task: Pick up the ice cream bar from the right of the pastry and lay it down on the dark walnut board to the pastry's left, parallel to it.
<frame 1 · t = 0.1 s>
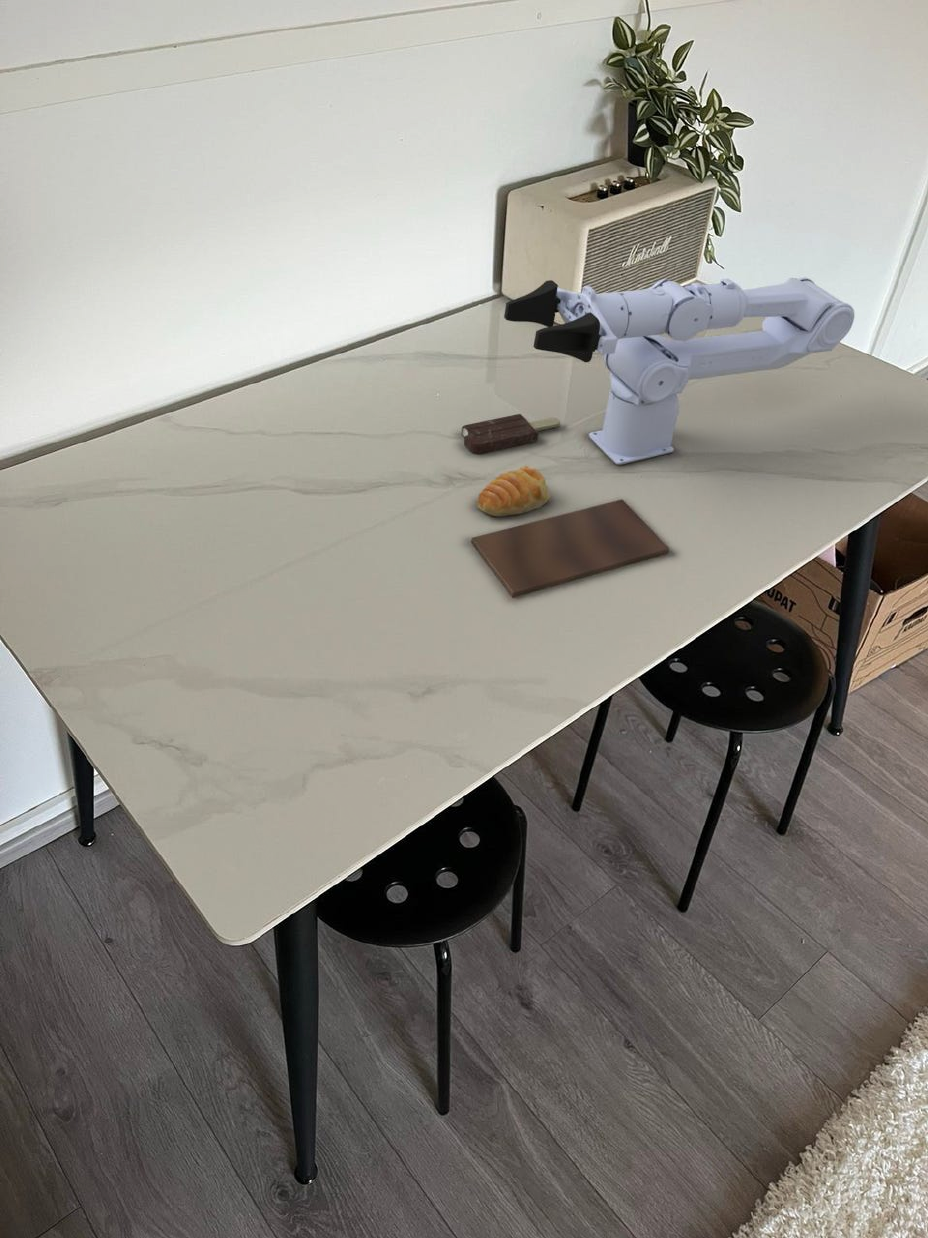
hand: (520, 325, 124), 22 cm above the table, tool horizontal, fingers open, 7 cm apart
pastry: (514, 503, 135), on the table
walnut board: (569, 548, 128), on the table
ice cream bar: (511, 437, 146), on the table
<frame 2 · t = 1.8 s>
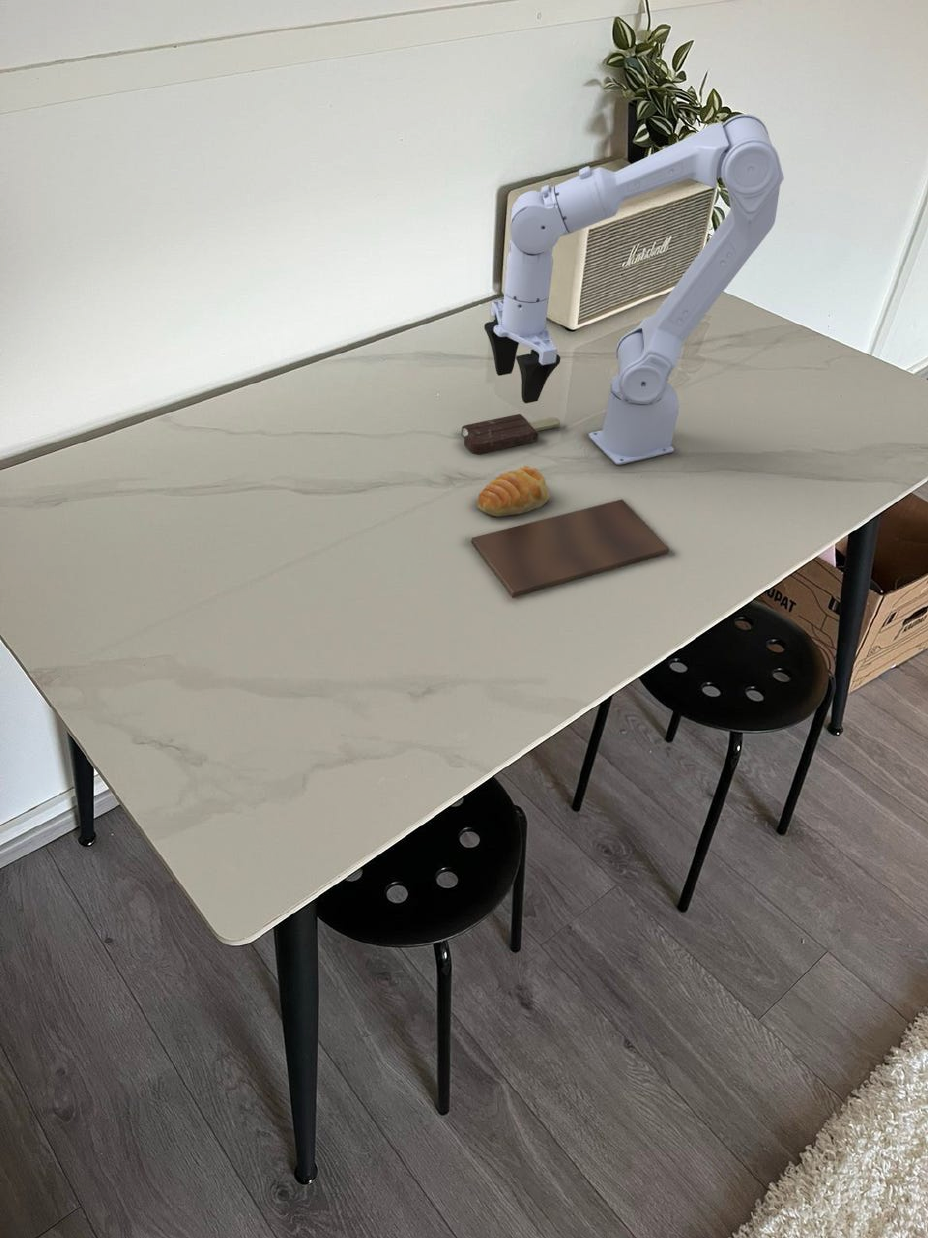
hand: (516, 387, 141), 8 cm above the table, tool pointing down, fingers open, 7 cm apart
nothing on the table moved.
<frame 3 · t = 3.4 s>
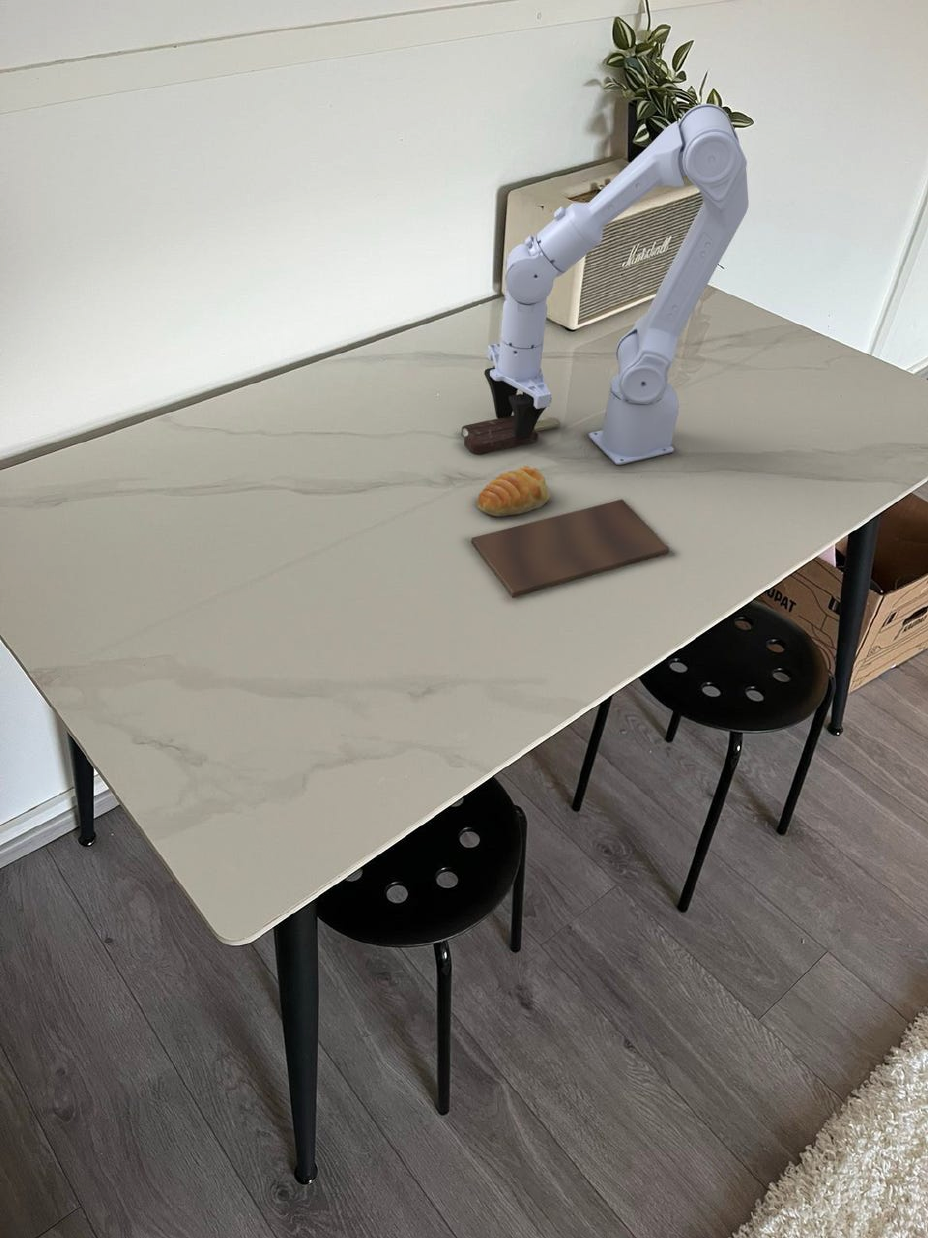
hand: (512, 427, 145), 1 cm above the table, tool pointing down, fingers closed on ice cream bar, 5 cm apart
ice cream bar: (512, 437, 146), on the table, touching gripper
everything else where it was.
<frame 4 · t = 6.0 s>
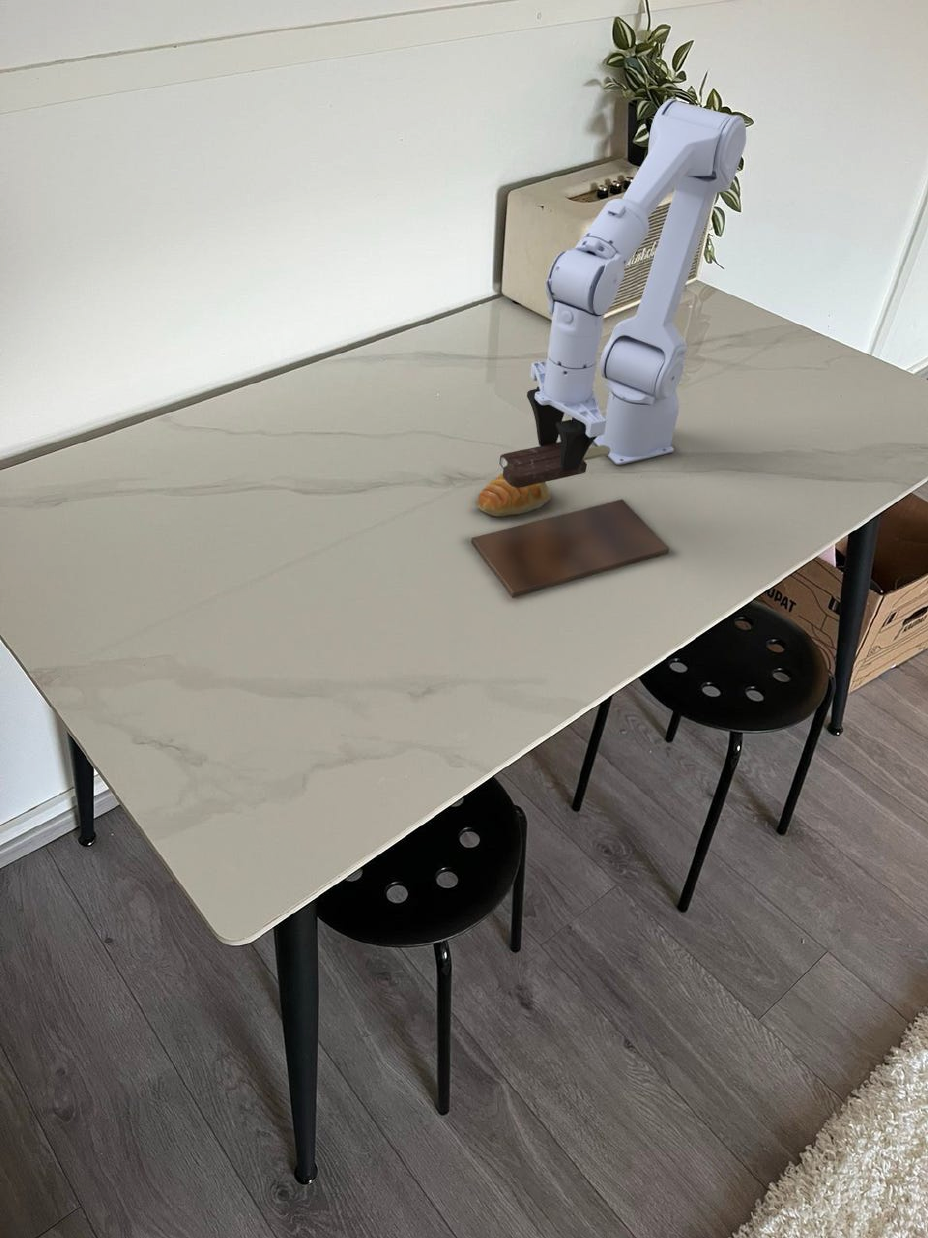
hand: (558, 456, 128), 8 cm above the table, tool pointing down, fingers closed on ice cream bar, 5 cm apart
ice cream bar: (556, 467, 129), point 7 cm above the table, touching gripper
everything else where it was.
when the fingers open (2 cm above the table, at t = 8.7 s): ice cream bar stays where it is, resting on walnut board.
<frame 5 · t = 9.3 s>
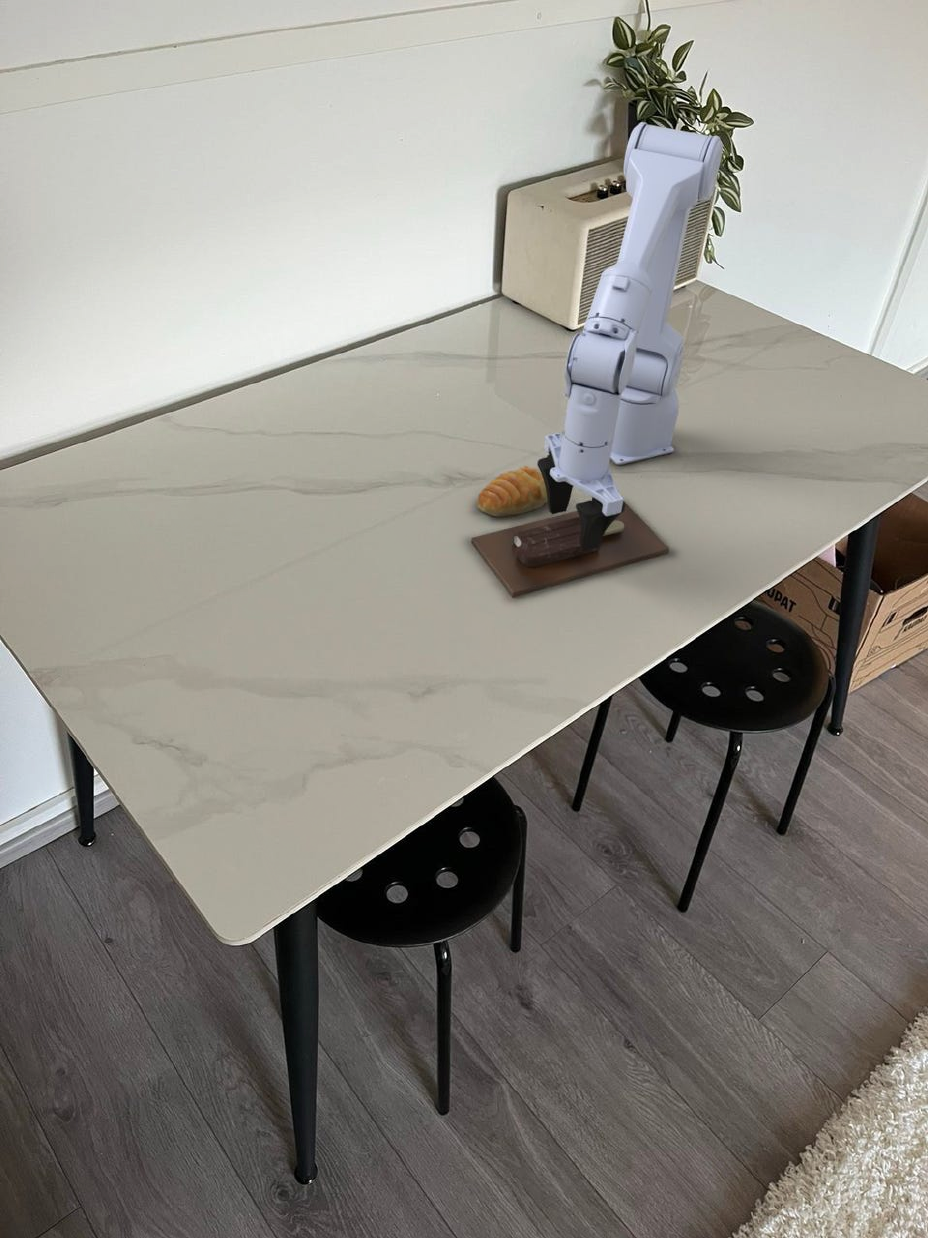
hand: (573, 528, 126), 3 cm above the table, tool pointing down, fingers open, 7 cm apart
ice cream bar: (570, 544, 128), point 1 cm above the table, touching walnut board
everything else where it was.
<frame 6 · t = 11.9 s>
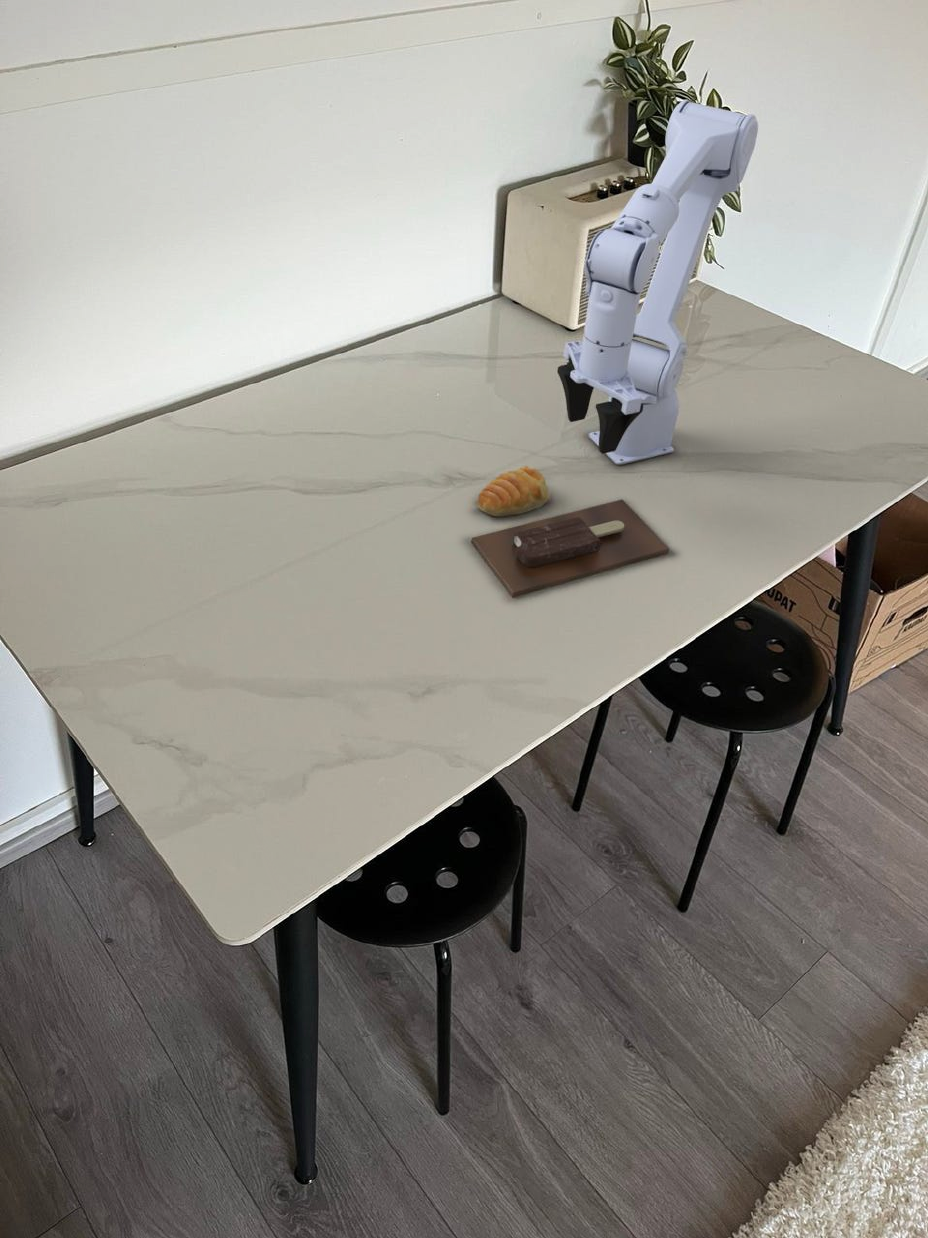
hand: (591, 434, 130), 9 cm above the table, tool pointing down, fingers open, 7 cm apart
nothing on the table moved.
at the end: ice cream bar inside the target area on the table beside the pastry (1.9 cm from its centre), point 0.8 cm above the table; the gripper is holding nothing; pastry moved 0.2 cm from its start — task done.
